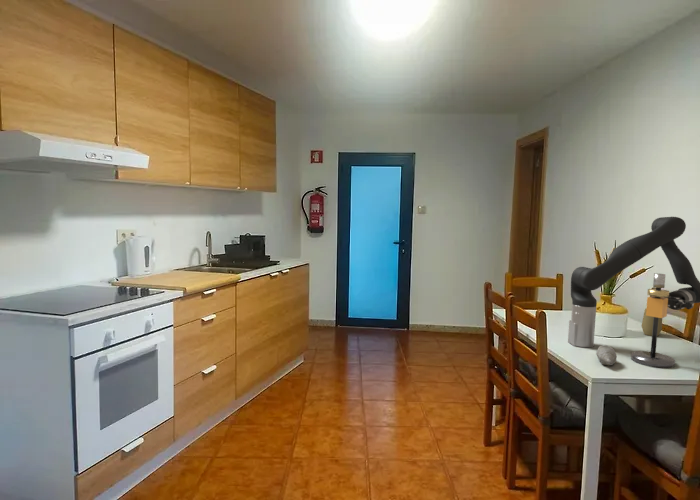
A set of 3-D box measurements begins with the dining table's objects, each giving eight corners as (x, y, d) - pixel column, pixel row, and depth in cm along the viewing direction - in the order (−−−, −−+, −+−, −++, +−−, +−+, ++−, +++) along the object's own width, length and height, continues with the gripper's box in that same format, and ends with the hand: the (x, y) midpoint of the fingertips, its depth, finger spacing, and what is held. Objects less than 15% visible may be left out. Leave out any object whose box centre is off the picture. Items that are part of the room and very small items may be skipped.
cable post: (666, 370, 167) (675, 278, 164) (625, 360, 178) (631, 273, 175) (680, 363, 176) (688, 275, 172) (639, 353, 187) (646, 270, 183)
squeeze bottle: (655, 338, 210) (658, 299, 208) (637, 333, 217) (640, 295, 215) (665, 336, 213) (668, 297, 212) (647, 331, 221) (650, 294, 219)
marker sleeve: (661, 318, 171) (663, 299, 171) (645, 315, 175) (647, 297, 175) (666, 316, 175) (668, 298, 174) (651, 313, 179) (652, 295, 178)
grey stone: (598, 360, 168) (603, 339, 170) (592, 363, 180) (597, 344, 182) (617, 366, 166) (622, 345, 167) (610, 369, 178) (615, 349, 179)
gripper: (659, 287, 194) (644, 292, 184) (700, 293, 183) (686, 298, 173) (658, 305, 195) (643, 310, 185) (698, 311, 184) (685, 317, 174)
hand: (664, 304), depth 179 cm, fingers open, 8 cm apart
